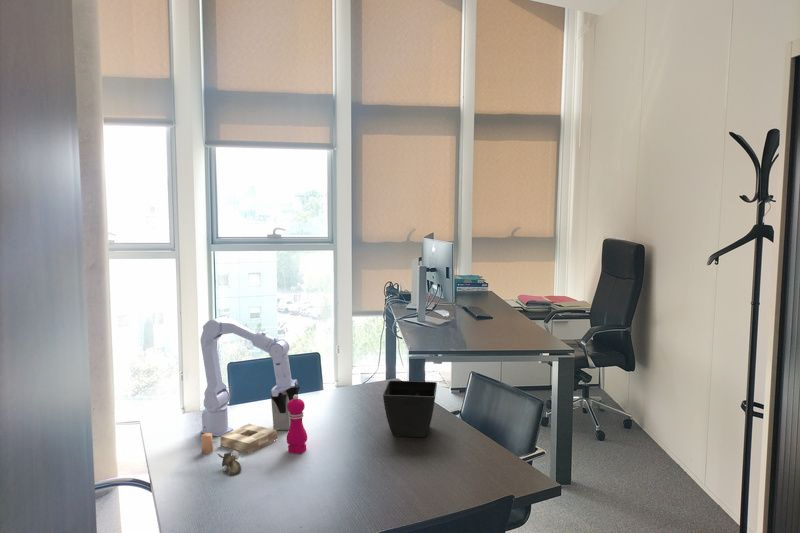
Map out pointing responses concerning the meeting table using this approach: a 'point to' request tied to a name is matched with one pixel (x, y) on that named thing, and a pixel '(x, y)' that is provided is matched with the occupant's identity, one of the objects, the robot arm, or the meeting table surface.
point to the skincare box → (280, 415)
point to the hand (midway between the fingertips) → (288, 409)
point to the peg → (207, 443)
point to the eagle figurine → (231, 463)
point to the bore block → (248, 438)
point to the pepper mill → (296, 426)
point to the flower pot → (409, 407)
